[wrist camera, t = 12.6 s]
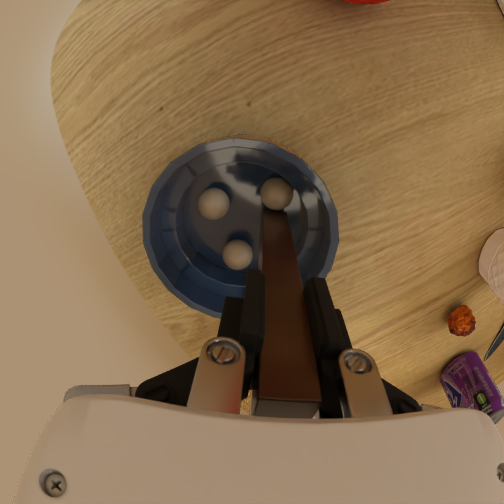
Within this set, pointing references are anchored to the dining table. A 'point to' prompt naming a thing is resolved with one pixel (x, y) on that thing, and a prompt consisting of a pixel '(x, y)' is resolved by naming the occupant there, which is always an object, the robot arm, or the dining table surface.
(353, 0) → the apple
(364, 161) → the dining table surface
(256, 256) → the bowl
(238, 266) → the bead
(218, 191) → the bead
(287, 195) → the bead
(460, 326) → the meatball
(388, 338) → the dining table surface
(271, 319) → the stick
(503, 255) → the white cup
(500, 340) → the knife
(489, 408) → the beverage can
